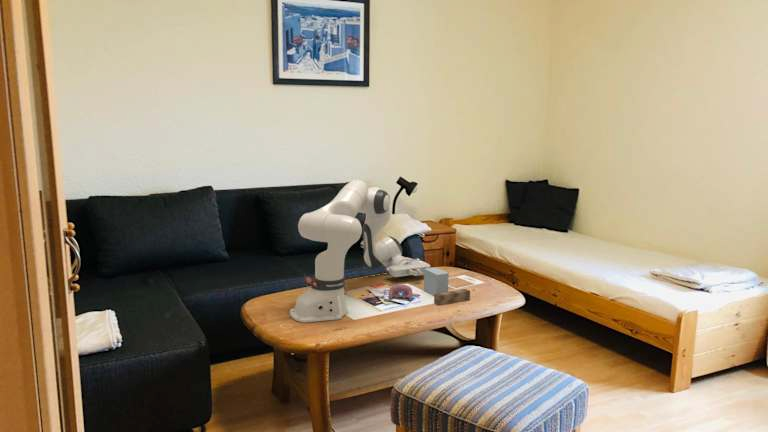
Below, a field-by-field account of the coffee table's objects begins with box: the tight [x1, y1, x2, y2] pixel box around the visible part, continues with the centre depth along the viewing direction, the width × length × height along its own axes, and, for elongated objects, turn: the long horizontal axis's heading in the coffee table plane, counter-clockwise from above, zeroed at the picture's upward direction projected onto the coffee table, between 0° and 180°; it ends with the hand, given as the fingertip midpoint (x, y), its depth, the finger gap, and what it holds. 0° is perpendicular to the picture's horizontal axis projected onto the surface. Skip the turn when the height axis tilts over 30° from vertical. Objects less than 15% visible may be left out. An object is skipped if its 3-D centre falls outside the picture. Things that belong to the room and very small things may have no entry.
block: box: [423, 267, 450, 297], centre depth 249 cm, size 6×10×10 cm, turn 28°
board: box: [433, 288, 471, 306], centre depth 239 cm, size 16×3×4 cm, turn 118°
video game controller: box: [388, 284, 413, 302], centre depth 241 cm, size 10×5×7 cm, turn 84°
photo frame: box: [448, 274, 487, 291], centre depth 265 cm, size 15×1×18 cm
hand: (418, 273), depth 261 cm, fingers closed
